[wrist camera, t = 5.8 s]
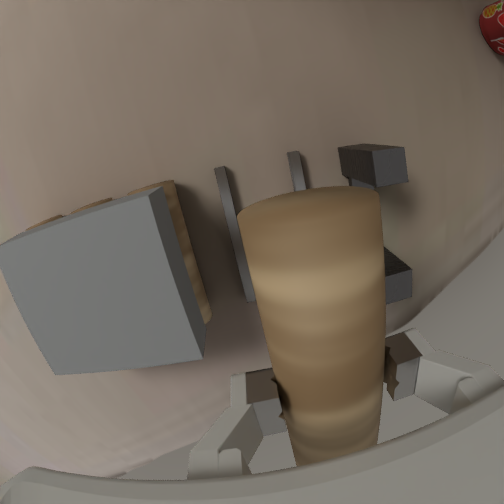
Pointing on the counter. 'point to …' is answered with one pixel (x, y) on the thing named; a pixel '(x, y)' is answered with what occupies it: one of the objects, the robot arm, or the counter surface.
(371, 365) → the roller
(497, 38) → the smoothie
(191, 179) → the counter surface
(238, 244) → the roller bed
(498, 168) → the counter surface
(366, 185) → the posts
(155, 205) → the slab
